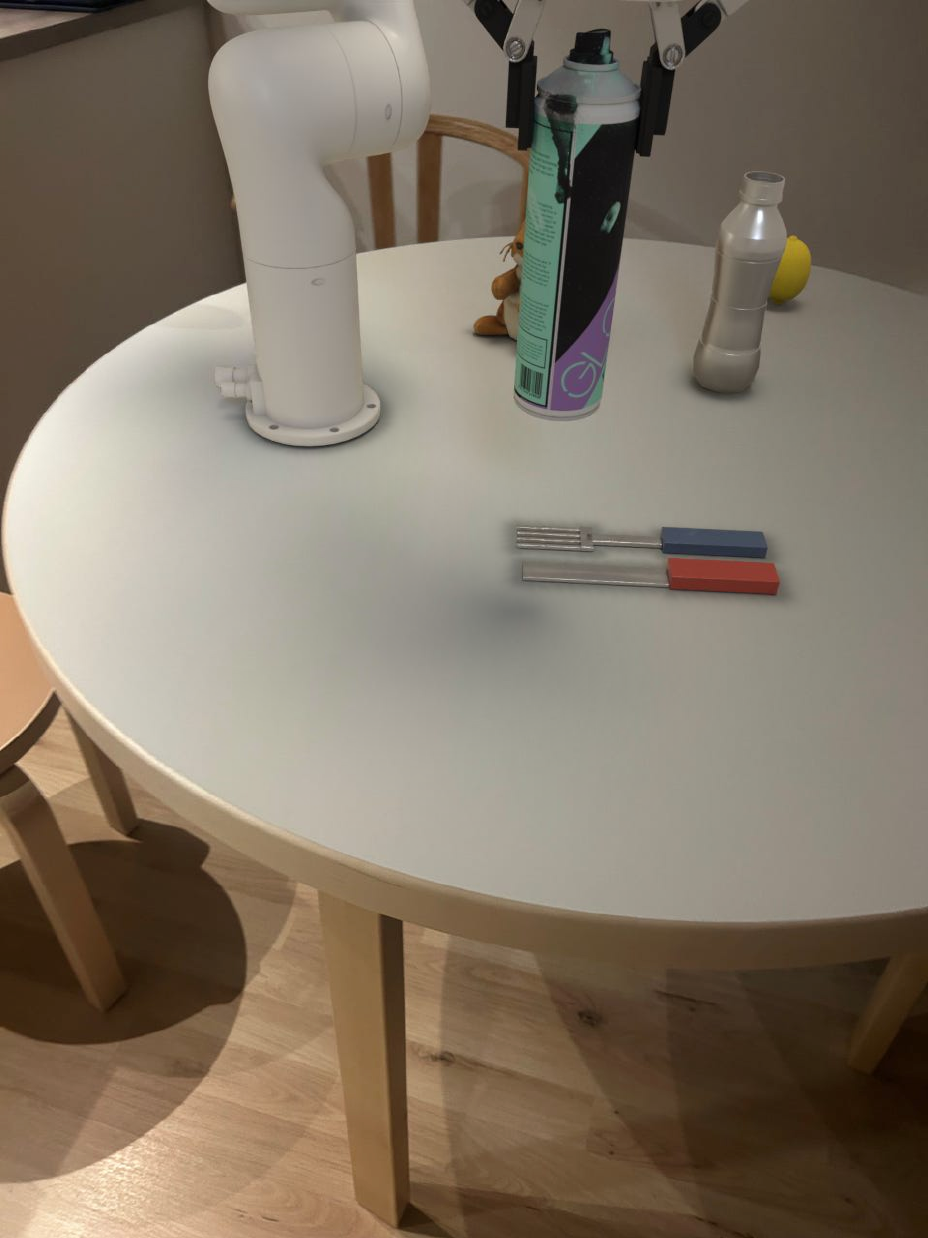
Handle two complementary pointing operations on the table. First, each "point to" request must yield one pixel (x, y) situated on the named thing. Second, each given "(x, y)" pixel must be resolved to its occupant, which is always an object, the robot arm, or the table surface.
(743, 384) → the plastic bottle
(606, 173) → the spray can
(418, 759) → the table surface
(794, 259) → the lemon
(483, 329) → the stuffed squirrel
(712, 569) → the knife
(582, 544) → the fork
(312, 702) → the table surface
